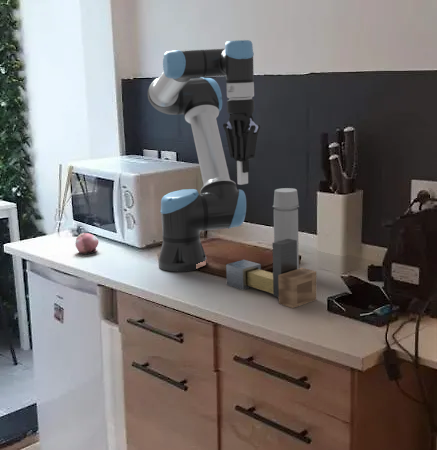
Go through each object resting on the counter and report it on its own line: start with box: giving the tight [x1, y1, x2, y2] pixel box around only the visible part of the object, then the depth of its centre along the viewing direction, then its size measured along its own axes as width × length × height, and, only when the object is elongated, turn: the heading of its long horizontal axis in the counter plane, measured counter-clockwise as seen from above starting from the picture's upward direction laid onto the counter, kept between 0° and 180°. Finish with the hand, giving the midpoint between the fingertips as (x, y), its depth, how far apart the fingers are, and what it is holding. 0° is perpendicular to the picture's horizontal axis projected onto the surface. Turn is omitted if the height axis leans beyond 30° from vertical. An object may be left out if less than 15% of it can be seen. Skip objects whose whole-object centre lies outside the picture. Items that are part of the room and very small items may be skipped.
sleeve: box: [225, 259, 262, 291], centre depth 204 cm, size 7×7×6 cm
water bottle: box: [271, 187, 300, 269], centre depth 212 cm, size 9×8×25 cm
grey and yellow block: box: [245, 239, 297, 298], centre depth 194 cm, size 21×6×14 cm, turn 40°
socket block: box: [278, 267, 318, 309], centre depth 188 cm, size 5×9×8 cm, turn 130°
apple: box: [74, 232, 99, 255], centre depth 244 cm, size 8×8×7 cm
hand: (242, 183), depth 202 cm, fingers closed
